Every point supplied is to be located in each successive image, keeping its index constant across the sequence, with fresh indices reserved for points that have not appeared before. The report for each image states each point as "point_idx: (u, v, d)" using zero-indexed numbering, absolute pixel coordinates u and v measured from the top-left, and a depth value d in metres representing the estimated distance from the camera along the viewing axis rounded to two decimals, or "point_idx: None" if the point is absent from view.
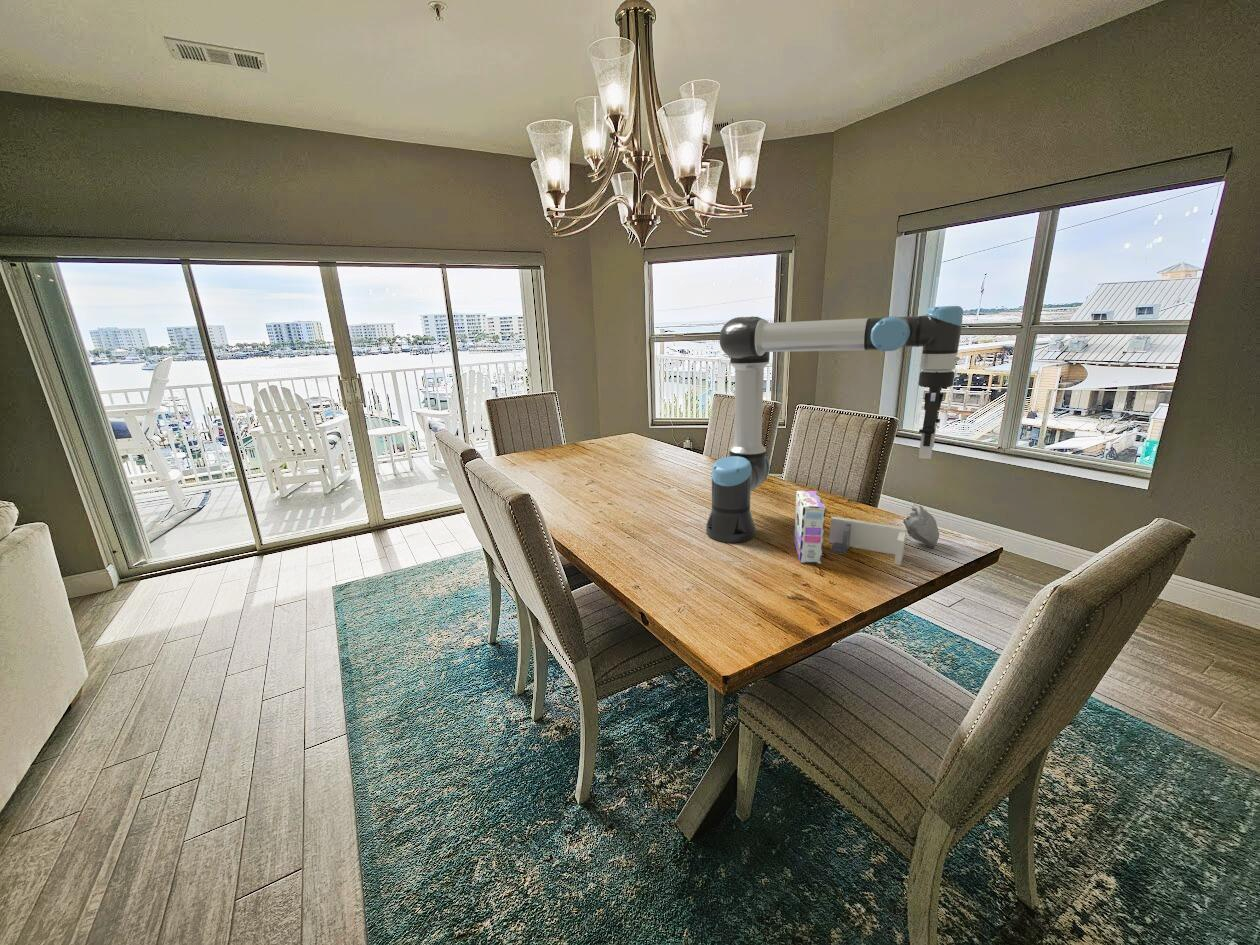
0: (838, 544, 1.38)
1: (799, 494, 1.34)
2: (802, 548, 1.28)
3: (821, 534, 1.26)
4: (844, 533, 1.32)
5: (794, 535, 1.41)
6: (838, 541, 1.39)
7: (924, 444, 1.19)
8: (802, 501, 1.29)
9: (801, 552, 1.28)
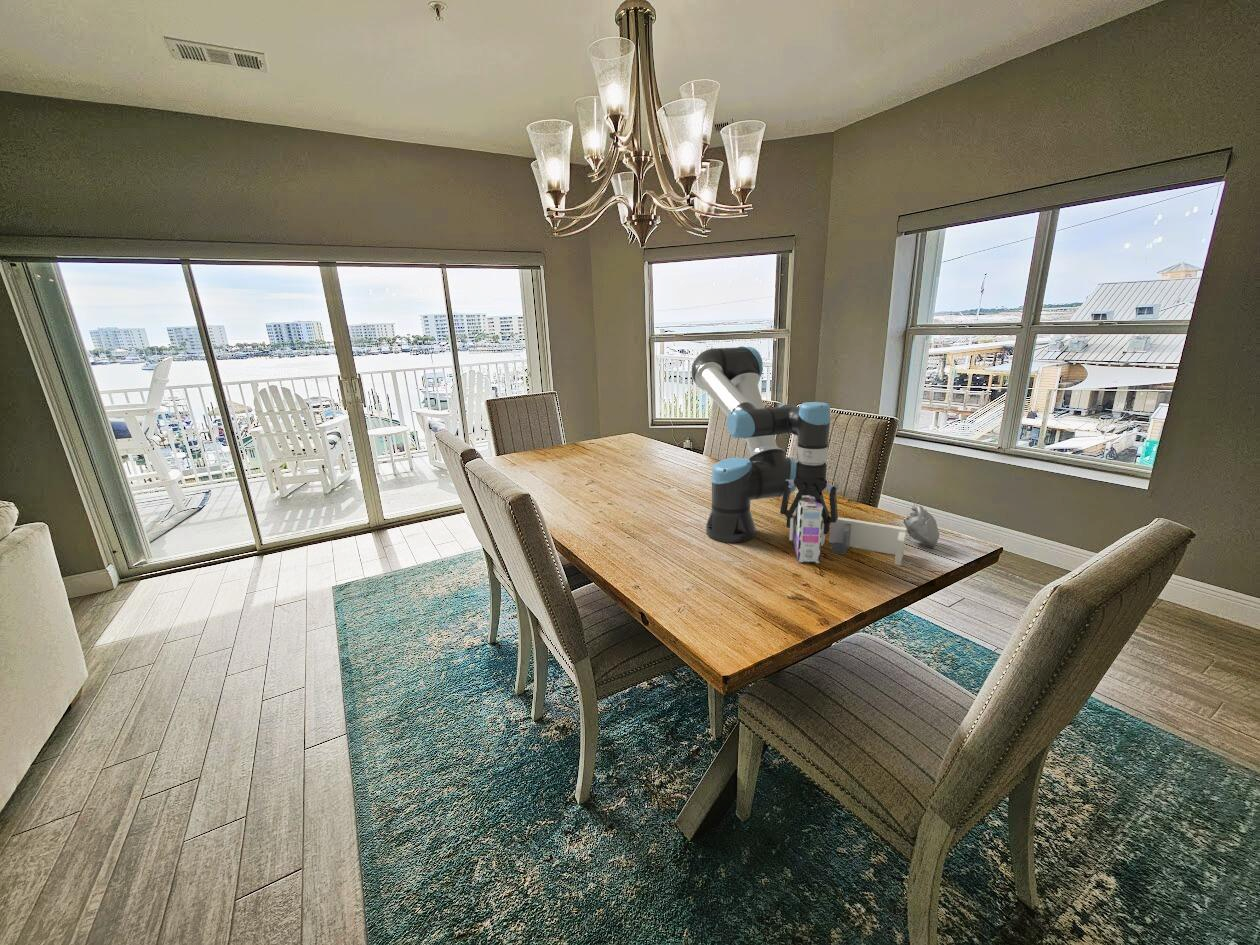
0: (838, 544, 1.38)
1: None
2: (800, 548, 1.28)
3: (819, 534, 1.26)
4: (844, 533, 1.32)
5: None
6: (838, 541, 1.39)
7: None
8: (800, 501, 1.29)
9: (799, 552, 1.29)
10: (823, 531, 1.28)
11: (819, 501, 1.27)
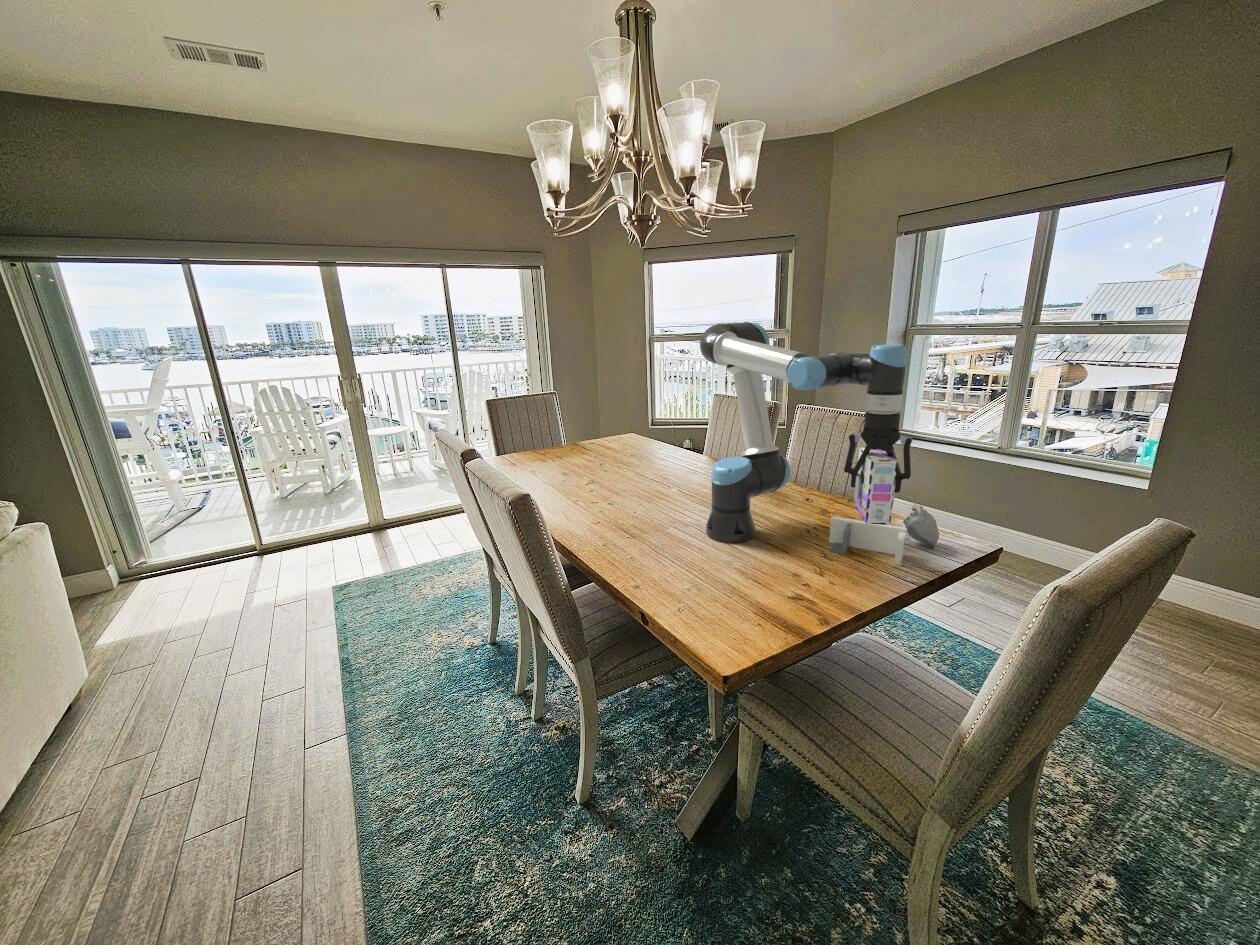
0: (838, 544, 1.38)
1: (863, 450, 1.22)
2: (869, 507, 1.16)
3: (891, 491, 1.14)
4: (844, 533, 1.32)
5: None
6: (838, 541, 1.39)
7: None
8: (869, 456, 1.17)
9: (868, 512, 1.16)
10: (894, 489, 1.16)
11: (891, 455, 1.14)
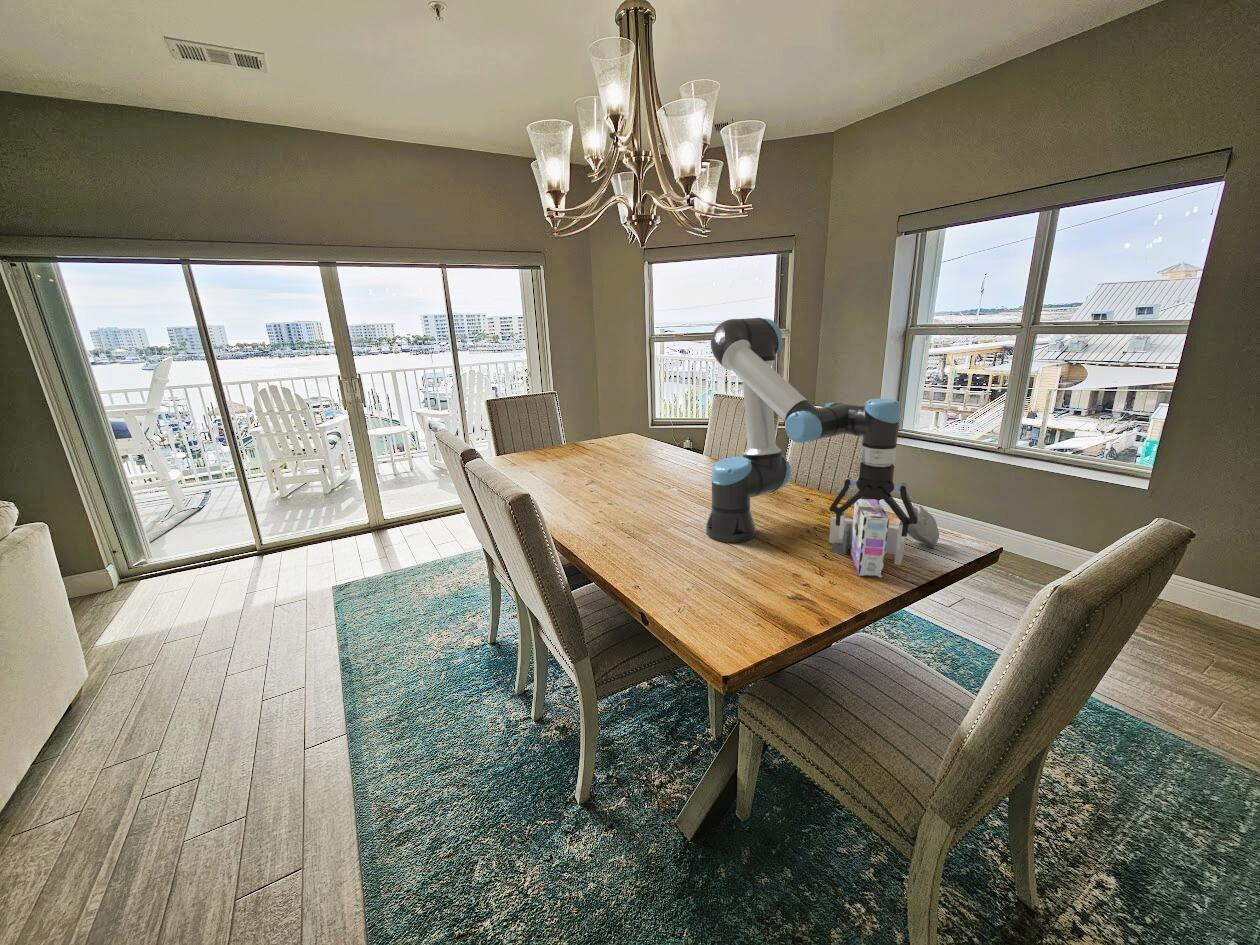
0: (838, 544, 1.38)
1: (858, 502, 1.26)
2: (861, 560, 1.20)
3: (883, 546, 1.18)
4: (844, 533, 1.32)
5: (851, 545, 1.32)
6: (838, 541, 1.39)
7: None
8: (862, 510, 1.21)
9: (860, 564, 1.20)
10: (901, 533, 1.18)
11: (890, 503, 1.17)
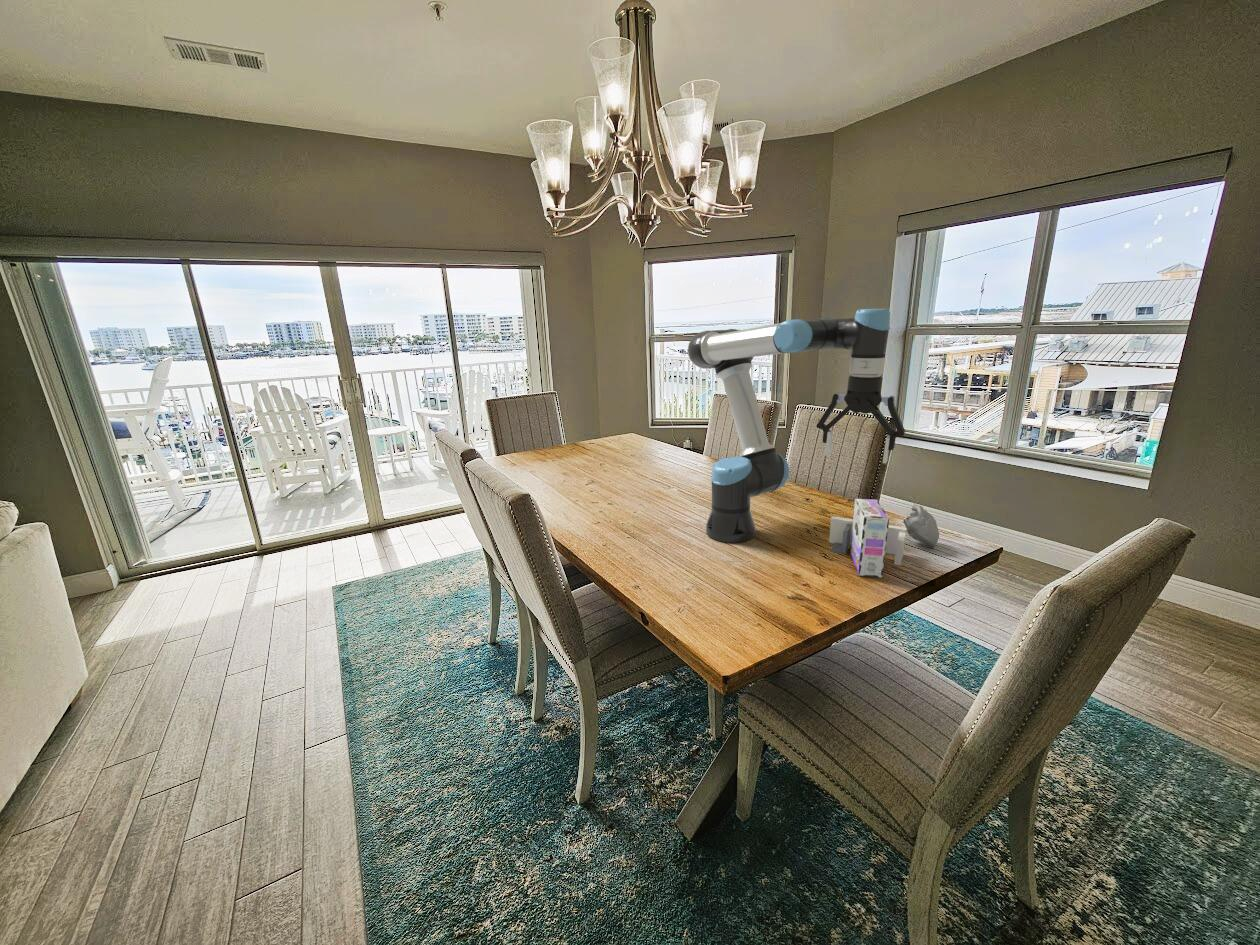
0: (838, 544, 1.38)
1: (858, 502, 1.26)
2: (861, 560, 1.20)
3: (883, 546, 1.18)
4: (844, 533, 1.32)
5: (851, 545, 1.32)
6: (838, 541, 1.39)
7: None
8: (862, 510, 1.21)
9: (860, 564, 1.20)
10: (888, 446, 1.18)
11: (878, 416, 1.17)
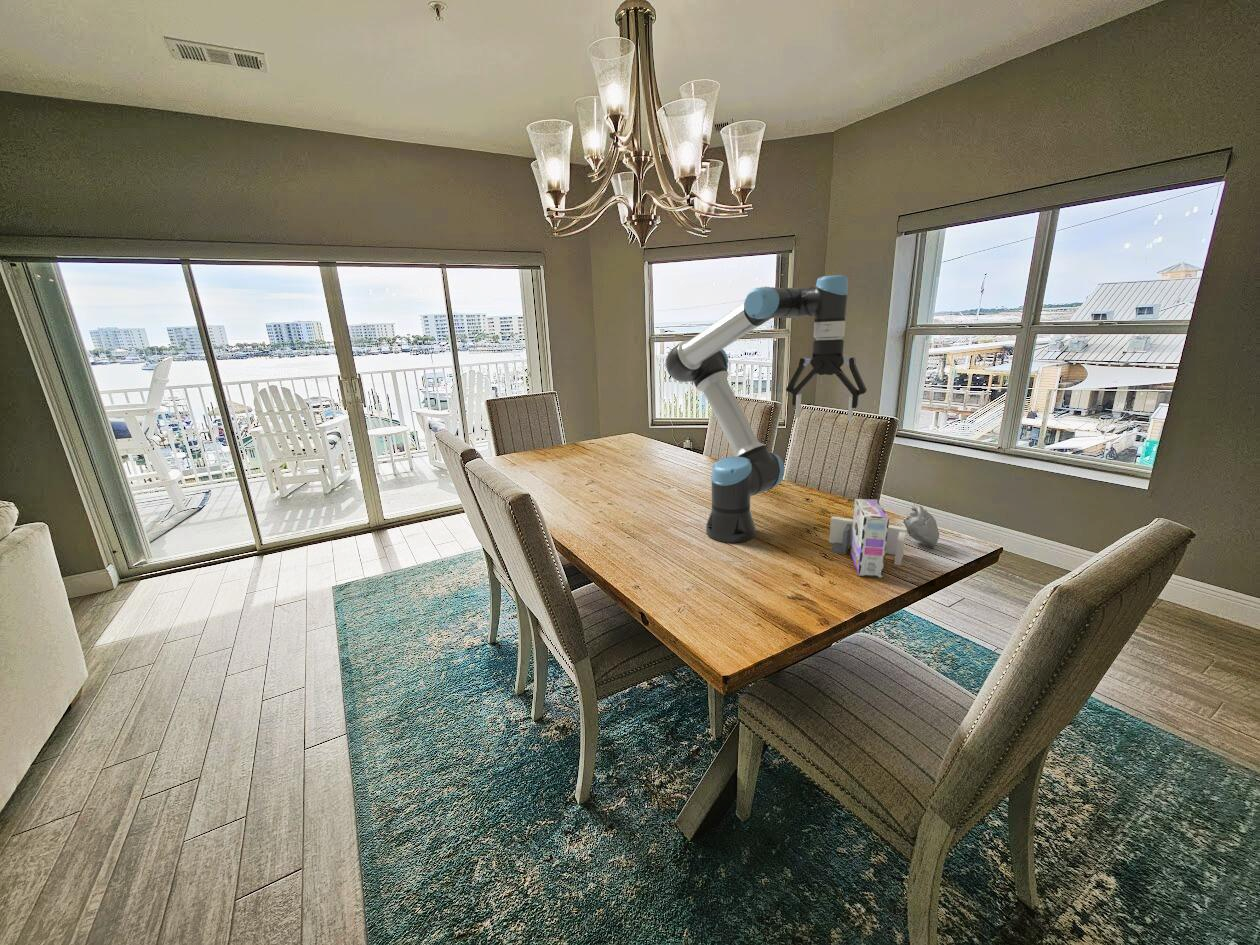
0: (838, 544, 1.38)
1: (858, 502, 1.26)
2: (861, 560, 1.20)
3: (883, 546, 1.18)
4: (844, 533, 1.32)
5: (851, 545, 1.32)
6: (838, 541, 1.39)
7: None
8: (862, 510, 1.21)
9: (860, 564, 1.20)
10: (851, 405, 1.26)
11: (841, 376, 1.26)
